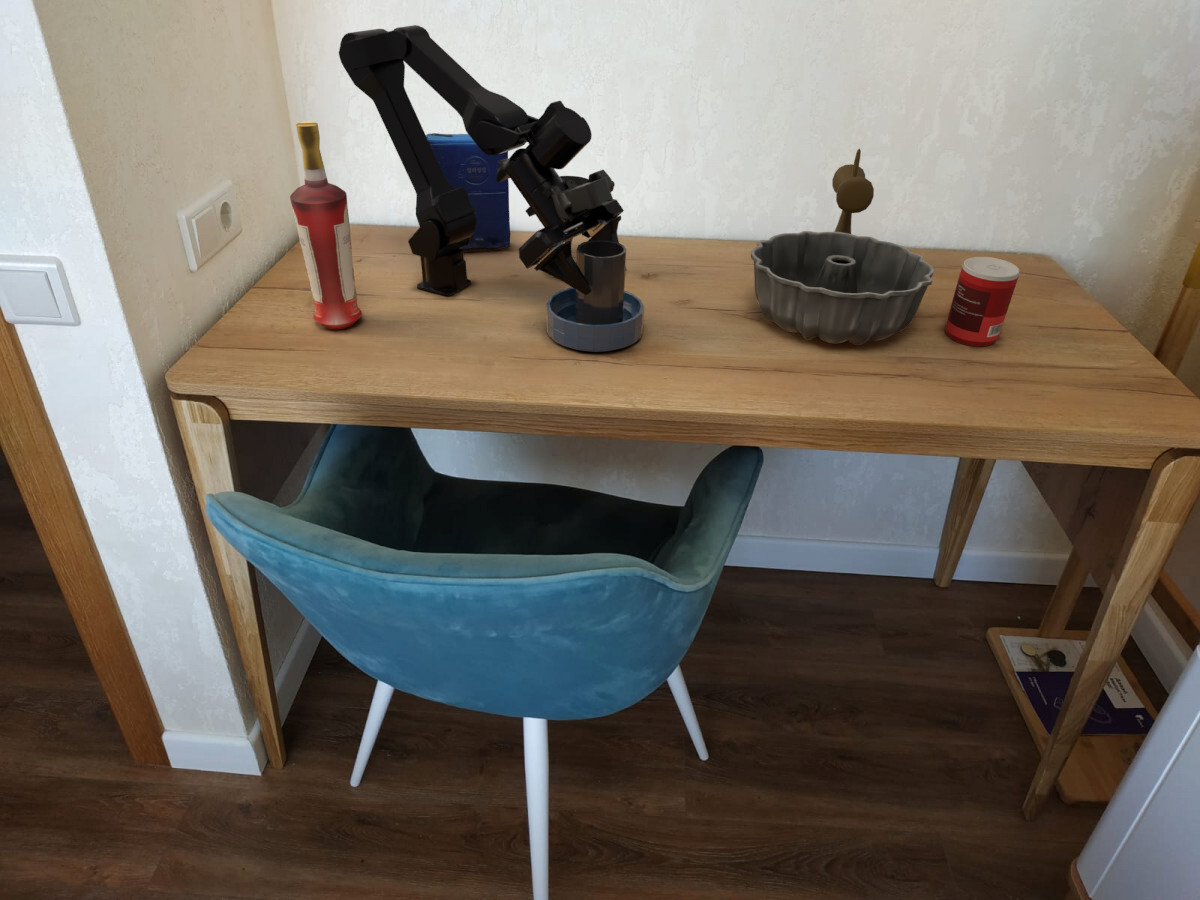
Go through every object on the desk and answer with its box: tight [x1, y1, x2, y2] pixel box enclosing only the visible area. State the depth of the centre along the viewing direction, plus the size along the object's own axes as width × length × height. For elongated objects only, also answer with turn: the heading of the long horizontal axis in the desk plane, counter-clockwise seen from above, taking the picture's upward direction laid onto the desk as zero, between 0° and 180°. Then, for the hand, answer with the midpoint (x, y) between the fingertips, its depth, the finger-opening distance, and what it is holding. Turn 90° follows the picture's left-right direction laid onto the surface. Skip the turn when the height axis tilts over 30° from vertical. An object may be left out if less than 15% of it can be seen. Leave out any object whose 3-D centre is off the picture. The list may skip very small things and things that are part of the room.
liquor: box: [289, 121, 363, 331], centre depth 115 cm, size 7×7×28 cm
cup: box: [575, 240, 627, 325], centre depth 118 cm, size 7×7×12 cm
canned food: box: [945, 256, 1021, 347], centre depth 122 cm, size 8×8×11 cm
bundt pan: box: [750, 230, 935, 346], centre depth 125 cm, size 26×26×10 cm
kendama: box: [831, 148, 875, 234], centre depth 142 cm, size 6×10×20 cm, turn 173°
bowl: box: [545, 287, 645, 353], centre depth 121 cm, size 14×14×4 cm
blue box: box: [425, 132, 511, 253], centre depth 143 cm, size 14×5×20 cm, turn 102°
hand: (607, 282), depth 116 cm, fingers open, 9 cm apart
